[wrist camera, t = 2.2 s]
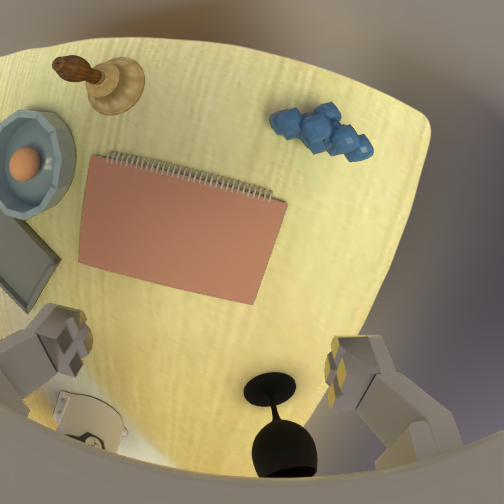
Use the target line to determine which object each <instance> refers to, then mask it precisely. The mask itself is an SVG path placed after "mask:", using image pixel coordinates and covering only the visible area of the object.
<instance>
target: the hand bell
mask: <svg viewBox="0 0 504 504" xmlns="http://www.w3.org/2000/svg"><path fill="white" fill-rule="evenodd" d="M52 68H53V69H54V70H55V71H56V72H57V74H58V75H59V76H60V77H61V78H62V79H64V80H66V81H69V82H80V81H86V88H87V91H88V98H89V101H90V103H91V105H92V107H93V108H94V109H95V110H96V111H98V112H99V113H102V114H105V115H116V114H120V113H123V112H125V111H127V110H128V109H130V108H131V107H132V106H133V105H134V104H135V103H136V102H137V101H138V99H139V98H140V96H141V94H142V92H143V89H144V84H145V77H144V73H143V70H142V68H141V67H140V65H139V64H138V63H137V62H135V61H134V60H132V59H129V58H115V59H112V60H109V61H107V62H105V63H101V64H99V65H97V66H95V67H94V68H91V67H90V65H89V63H88V62H87V61H86V60H85V59H83V58H81V57H79V56H76V55H69V56H64V57H57V58H56V59H55V60H54V61H53V64H52Z"/></svg>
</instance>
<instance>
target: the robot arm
mask: <svg viewBox="0 0 504 504" xmlns="http://www.w3.org/2000/svg"><path fill="white" fill-rule="evenodd" d="M86 321H87V318H86V316H85V313H84V312H83V311H81V310H78V309H74V308H69V307H65V306H61V305H56V304H52V303H49V304H46V305H45V306H44V307H43V308H42V310H41V311H40V312H39V313H38V314H37V315H36V317H35V318H34V319H33V320H32V321H31V323H30V324H29V325H28V326H27V328H26V329H25V330H22V329H21V330H19V331H17V332H15V333H13V334H11V335H9V336H7V337H5V338H4V339H2V340H0V504H504V430H502V431H499V432H497V433H495V434H493V435H491V436H488V437H486V438H484V439H481V440H479V441H476V442H474V443H471V444H469V445H466V446H464V445H463V443H462V440H461V437H460V434H459V432H458V429H457V426H456V424H455V421H454V418H453V416H452V413H451V412H449V411H448V410H447V409H446V408H445V407H443V406H442V405H441V404H439V403H438V402H437V401H436V400H434V399H433V398H432V397H431V396H429V395H428V394H427V393H426V392H424V391H423V390H422V389H421V388H419V387H418V386H417V385H416V384H414V383H413V382H412V381H411V380H409V379H408V378H407V377H406V376H404V375H403V374H402V373H396V370H395V368H394V365H393V362H392V360H391V357H390V355H389V352H388V350H387V348H386V345H385V343H384V340H383V338H382V337H381V335H365V336H364V335H362V336H361V335H358V336H334V338H333V339H332V342H331V348H332V351H331V352H330V353H329V354H328V355H327V358H326V361H325V370H324V371H325V382H326V383H327V384H328V385H329V386H330V389H329V391H328V393H327V394H328V400H329V407H330V411H332V410H333V411H334V410H356V412H357V413H358V414H359V416H360V417H361V418H362V419H363V420H364V421H365V423H366V424H367V425H368V426H369V427H370V429H371V430H372V431H373V432H374V433H375V434H376V436H377V437H378V438H379V439H380V440H381V441H382V443H383V444H384V445H385V446H386V447H387V448H388V449H387V450H386V451H385V452H384V453H383V454H382V455H381V456H380V457H379V458H378V459H377V460H376V461H375V465H376V470H372V471H366V472H359V473H351V474H343V475H334V476H322V477H303V478H258V477H240V476H228V475H218V474H210V473H202V472H195V471H189V470H183V469H178V468H172V467H167V466H162V465H158V464H153V463H149V462H145V461H141V460H137V459H133V458H130V457H126V456H123V455H119V454H117V451H118V447H119V444H120V441H121V437H125V436H127V434H128V431H127V430H126V429H125V427H124V426H123V421H122V418H121V417H120V415H119V414H118V413H117V412H116V411H115V410H114V409H113V408H111V407H110V406H108V405H107V404H105V403H103V402H102V401H99V400H97V399H95V398H92V397H89V396H85V395H74V394H70V393H67V392H64V391H61V392H60V395H59V398H58V401H57V404H56V407H55V410H54V414H53V419H54V420H55V421H56V422H57V423H58V427H57V430H56V431H55V430H52V429H50V428H48V427H46V426H44V425H42V424H40V423H38V422H36V421H34V420H32V419H30V418H28V417H27V416H28V414H29V412H30V410H29V407H28V406H27V404H26V403H25V402H24V401H23V399H24V398H25V397H27V396H28V395H29V394H31V393H32V392H33V391H34V390H36V389H37V388H38V387H40V386H41V385H42V384H44V383H45V382H46V381H48V380H49V379H50V378H52V377H53V376H54V375H56V374H57V372H59V373H62V374H65V375H69V376H72V377H76V376H77V374H78V372H79V370H80V369H81V367H82V365H83V360H82V358H84V357H85V356H87V355H88V354H89V353H90V351H91V349H92V344H93V336H92V332H91V329H90V328H89V327H88V326H87V325H86V324H85V323H86Z"/></svg>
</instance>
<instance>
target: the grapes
mask: <svg viewBox="0 0 504 504" xmlns="http://www.w3.org/2000/svg"><path fill="white" fill-rule="evenodd" d="M340 120H341V113H340V112H339V110H338V109H337V107H336V106H335V105H334V104H333V102H329V103H325V104H321V105H319V106H317V107H316V109H315V110H314V113H313V112H312V113H306V114H303V115H301V113H300V112H299V111H298V110H297V108H292V109H289V110H283V111H280V112H277V113H275V114H273V115H272V116H271V117H270V119H269V121H270V124H271V127H272V128H273V130H274V131H275V132H276V134H277V135H281V134H283V135H284V137H285V138H286V139H287V140H290V139H294V138H297V137H298V138H299V139H301V140H302V141H303V143H304V144H305V145H306V147H307V148H309V149H310V150H311V151H312V153H313V154H317V153H321V152H324V151H326V150H327V152H328V153H329V154H330V156H336V155H339V154H344V155H345V157H346V158H347V160H348V161H349V162H358V161H362V160H365V159H368V158H370V157H371V156H372V155H373V153H374V150H373V146H372V145H371V143H370V141H369V140H368V138H367V137H366V136H365V135H364V134H362V135H358V134H357V133H356V131H355V130H354V128H353V127H352V126H351V125H344V124H343V125H341V124H340V122H339V121H340Z"/></svg>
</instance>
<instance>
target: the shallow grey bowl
mask: <svg viewBox="0 0 504 504" xmlns="http://www.w3.org/2000/svg"><path fill="white" fill-rule="evenodd" d="M24 146H29V147H32V148H34V149H35V150H36V151H37V152H38V154H39V156H40V167H39V170H38V172H37V174H36V175H35V176H34V177H33V178H32V179H31V180H29V181H25V182H20V181H17V180H16V179H14V178H13V176H12V175H11V173H10V168H9V164H10V159H11V157H12V155H13V154H14V152H15V151H16V150H18V149H19V148H21V147H24ZM75 164H76V150H75V143H74V140H73V136H72V134H71V131H70V129H69V128H68V126H67V125H66V123H65V122H64V121H63V120H62V119H61V118H60V117H58V116H57V115H56V114H55V113H53V112H43V111H32V110H18V111H17V112H15V113H14V114H12V115H11V116H9V117H8V118H7V119H5V120H4V121H2V122H1V123H0V208H1V210H2V211H3V212H4V213H5V215H8V216H11V217H15V218H18V219H21V220H26V219H28V218H30V217H33V216H35V215H37V214H39V213H41V212H44V211H45V210H47V209H49V208H51V207H53V206H55V205H57V204H58V202H59V201H60V200H61V199H62V197H63V196H64V195H65V193H66V192H67V190H68V188H69V186H70V184H71V182H72V179H73V175H74V171H75Z"/></svg>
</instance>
